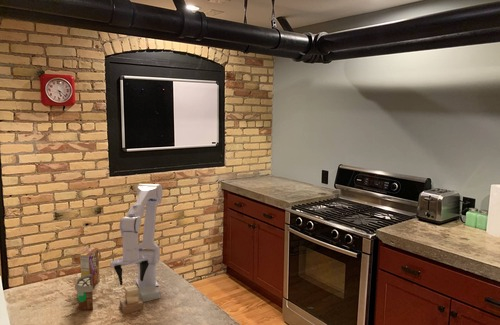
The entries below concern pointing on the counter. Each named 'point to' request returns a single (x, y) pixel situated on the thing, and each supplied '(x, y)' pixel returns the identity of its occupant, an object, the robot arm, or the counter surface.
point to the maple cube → (131, 294)
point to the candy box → (90, 264)
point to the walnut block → (131, 305)
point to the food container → (85, 292)
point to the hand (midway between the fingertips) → (131, 281)
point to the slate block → (148, 293)
